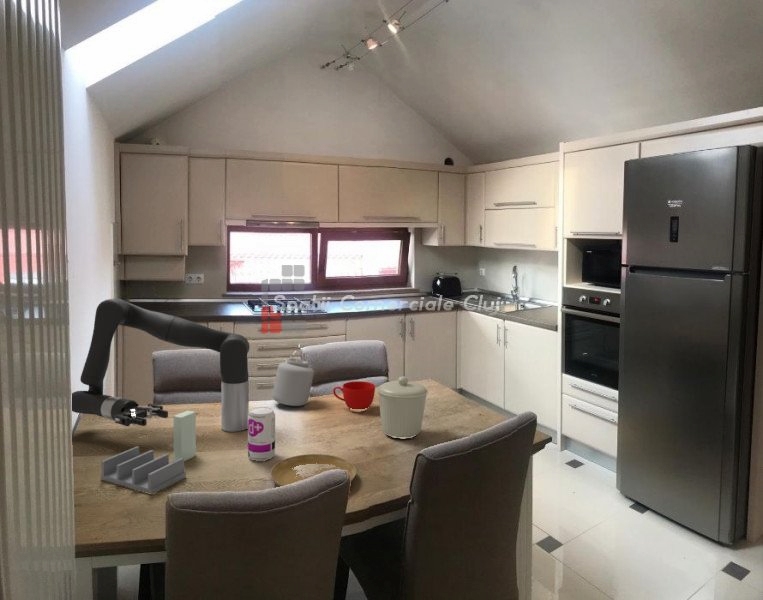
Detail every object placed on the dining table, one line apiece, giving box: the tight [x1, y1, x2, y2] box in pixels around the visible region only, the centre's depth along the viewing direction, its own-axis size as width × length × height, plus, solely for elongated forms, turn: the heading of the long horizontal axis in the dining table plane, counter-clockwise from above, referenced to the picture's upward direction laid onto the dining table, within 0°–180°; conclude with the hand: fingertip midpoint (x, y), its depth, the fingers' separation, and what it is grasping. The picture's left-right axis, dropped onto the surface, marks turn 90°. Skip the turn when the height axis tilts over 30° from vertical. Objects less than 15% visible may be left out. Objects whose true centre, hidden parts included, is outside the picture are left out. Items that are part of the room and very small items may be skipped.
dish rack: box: [100, 445, 186, 495], centre depth 150 cm, size 19×12×6 cm, turn 66°
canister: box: [376, 375, 429, 437], centre depth 189 cm, size 18×18×21 cm
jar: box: [271, 343, 316, 407], centre depth 219 cm, size 19×15×25 cm
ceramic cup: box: [332, 380, 376, 409], centre depth 215 cm, size 13×17×10 cm
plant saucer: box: [270, 453, 357, 488], centre depth 153 cm, size 24×24×3 cm
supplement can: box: [247, 406, 276, 462], centre depth 167 cm, size 8×8×15 cm
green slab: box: [172, 410, 197, 462], centre depth 164 cm, size 3×6×14 cm, turn 156°
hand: (156, 418), depth 168 cm, fingers open, 8 cm apart
